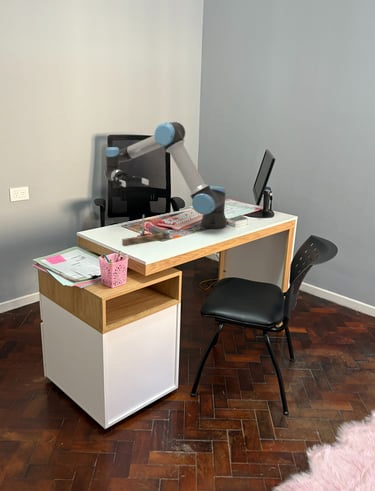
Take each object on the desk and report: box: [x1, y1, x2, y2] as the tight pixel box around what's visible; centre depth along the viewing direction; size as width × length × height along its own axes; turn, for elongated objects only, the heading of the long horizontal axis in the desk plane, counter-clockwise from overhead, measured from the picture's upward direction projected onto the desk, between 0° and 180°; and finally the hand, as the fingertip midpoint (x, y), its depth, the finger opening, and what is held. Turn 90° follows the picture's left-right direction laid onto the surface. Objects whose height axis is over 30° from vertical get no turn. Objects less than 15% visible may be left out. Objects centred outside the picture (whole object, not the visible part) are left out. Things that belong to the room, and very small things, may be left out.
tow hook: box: [136, 214, 152, 237], centre depth 229 cm, size 8×13×9 cm
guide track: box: [121, 225, 170, 247], centre depth 229 cm, size 26×16×3 cm, turn 123°
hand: (136, 183), depth 235 cm, fingers open, 13 cm apart
